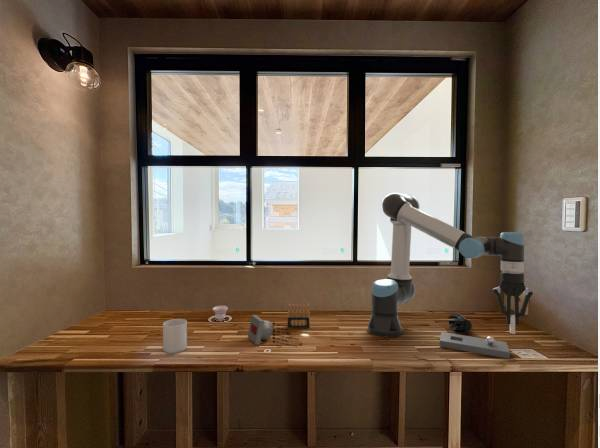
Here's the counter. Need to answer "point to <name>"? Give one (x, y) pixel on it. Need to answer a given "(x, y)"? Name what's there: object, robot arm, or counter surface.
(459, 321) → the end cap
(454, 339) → the hole plate
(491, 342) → the steel ball
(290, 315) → the ammunition clip
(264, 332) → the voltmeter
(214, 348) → the counter surface
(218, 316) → the teacup
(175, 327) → the mug
